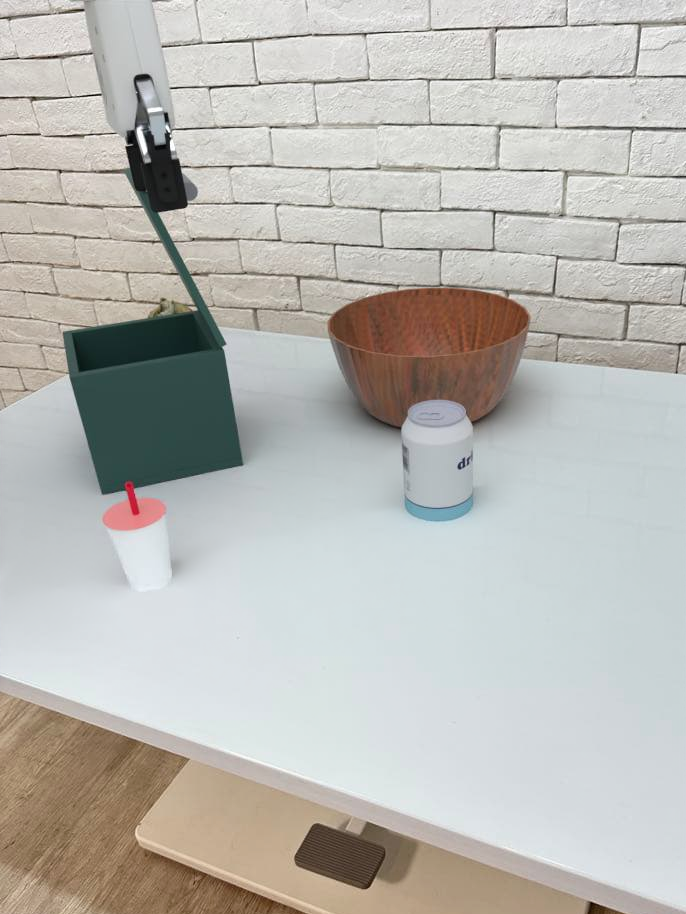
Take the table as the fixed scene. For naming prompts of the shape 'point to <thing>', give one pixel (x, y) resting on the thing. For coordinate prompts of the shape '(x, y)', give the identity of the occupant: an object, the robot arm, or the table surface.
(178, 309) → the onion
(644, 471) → the table surface
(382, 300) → the bowl
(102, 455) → the cooler
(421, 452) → the beverage can
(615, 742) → the table surface
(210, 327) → the lid
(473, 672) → the table surface
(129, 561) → the cup
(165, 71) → the robot arm
